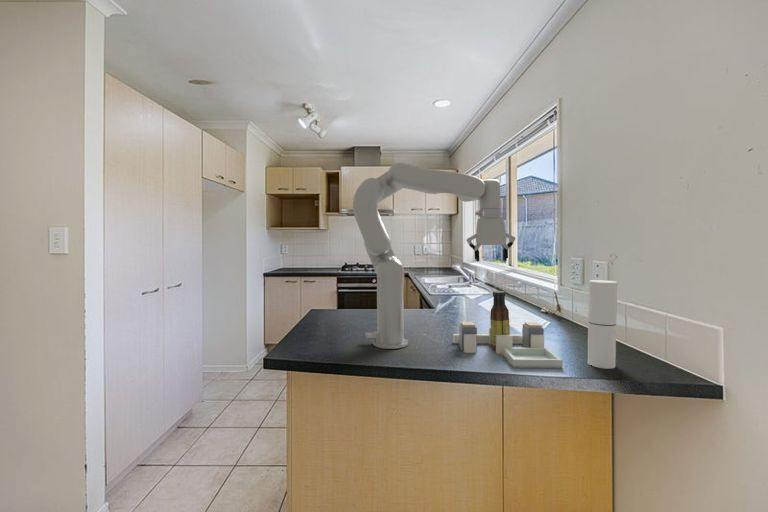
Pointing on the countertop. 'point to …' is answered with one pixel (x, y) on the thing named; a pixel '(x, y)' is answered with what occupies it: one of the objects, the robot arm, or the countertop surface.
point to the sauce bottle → (499, 317)
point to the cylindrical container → (602, 323)
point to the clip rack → (499, 337)
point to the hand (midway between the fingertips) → (491, 260)
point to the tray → (532, 358)
